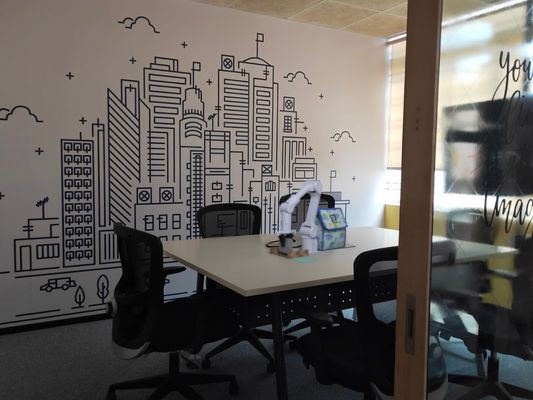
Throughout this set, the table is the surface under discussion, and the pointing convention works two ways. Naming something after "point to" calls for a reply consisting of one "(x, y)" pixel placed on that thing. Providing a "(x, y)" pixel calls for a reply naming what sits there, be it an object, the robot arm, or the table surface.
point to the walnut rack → (289, 253)
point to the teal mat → (305, 259)
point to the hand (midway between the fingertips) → (285, 246)
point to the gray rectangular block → (286, 246)
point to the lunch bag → (330, 228)
